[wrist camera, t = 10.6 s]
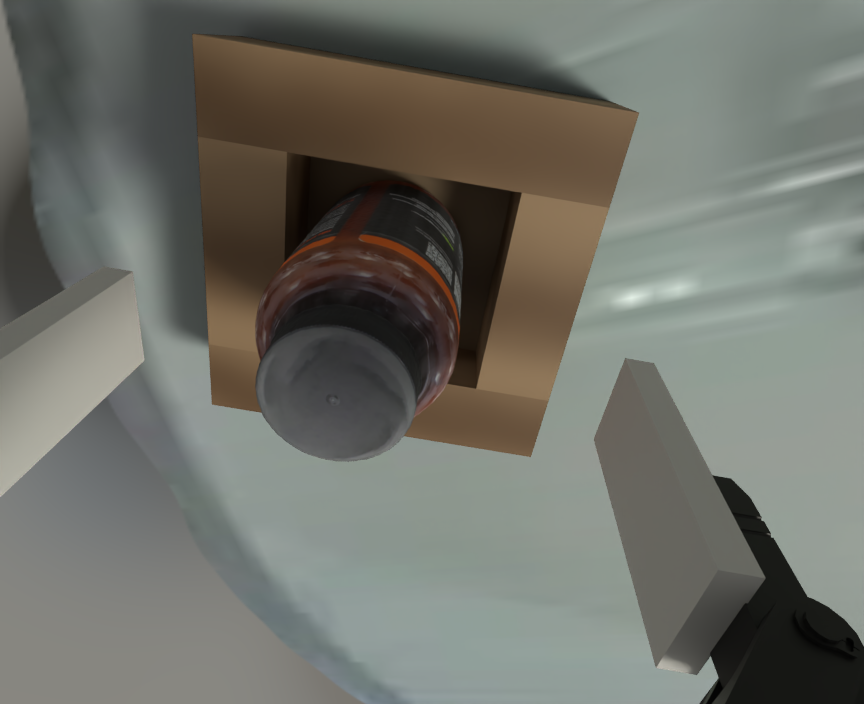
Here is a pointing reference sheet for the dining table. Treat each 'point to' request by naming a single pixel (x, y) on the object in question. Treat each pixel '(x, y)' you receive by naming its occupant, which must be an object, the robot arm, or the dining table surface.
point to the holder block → (426, 168)
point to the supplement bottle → (361, 323)
